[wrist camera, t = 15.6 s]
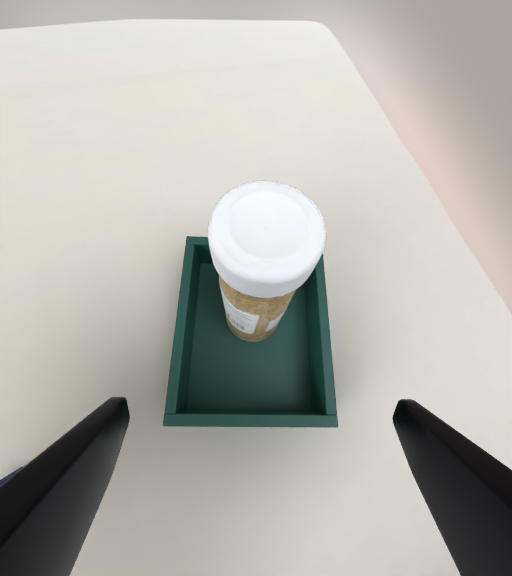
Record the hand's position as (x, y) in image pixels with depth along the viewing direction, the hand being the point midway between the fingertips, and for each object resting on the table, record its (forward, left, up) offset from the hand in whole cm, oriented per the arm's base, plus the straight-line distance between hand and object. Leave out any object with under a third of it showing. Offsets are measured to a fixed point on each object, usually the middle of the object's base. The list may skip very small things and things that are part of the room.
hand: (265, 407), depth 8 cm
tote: (+5, -1, -13) cm, 14 cm away
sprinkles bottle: (+6, -1, -12) cm, 14 cm away
